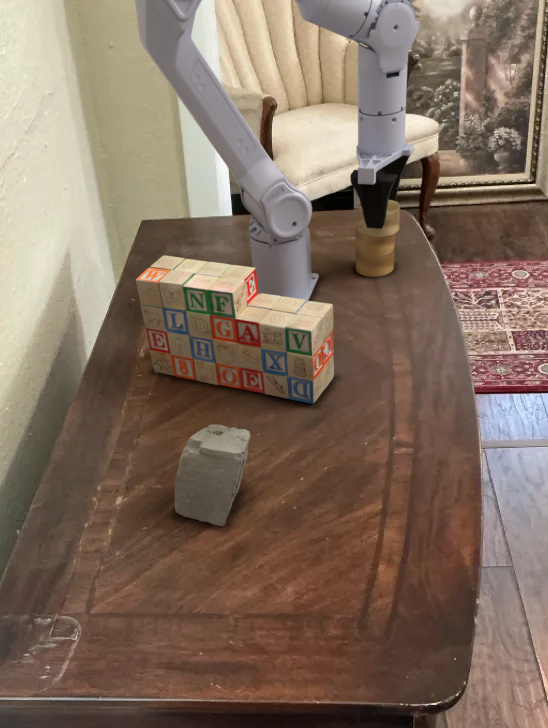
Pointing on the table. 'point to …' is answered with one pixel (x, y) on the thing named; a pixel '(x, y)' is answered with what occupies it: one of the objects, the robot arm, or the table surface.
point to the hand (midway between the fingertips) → (380, 218)
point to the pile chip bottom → (374, 264)
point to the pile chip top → (373, 242)
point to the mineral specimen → (211, 473)
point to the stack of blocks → (234, 330)
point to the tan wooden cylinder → (386, 222)
